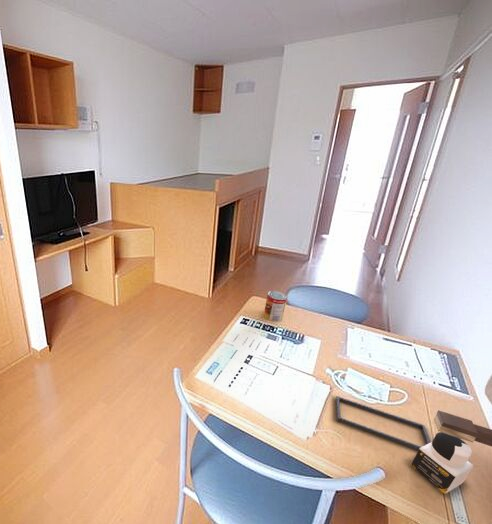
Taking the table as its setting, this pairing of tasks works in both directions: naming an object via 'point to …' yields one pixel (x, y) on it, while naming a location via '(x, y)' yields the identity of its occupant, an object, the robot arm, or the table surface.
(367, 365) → the table surface
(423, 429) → the empty picture frame
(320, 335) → the table surface
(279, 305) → the canned food
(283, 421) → the table surface
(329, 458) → the table surface
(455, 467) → the medicine bottle
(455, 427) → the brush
